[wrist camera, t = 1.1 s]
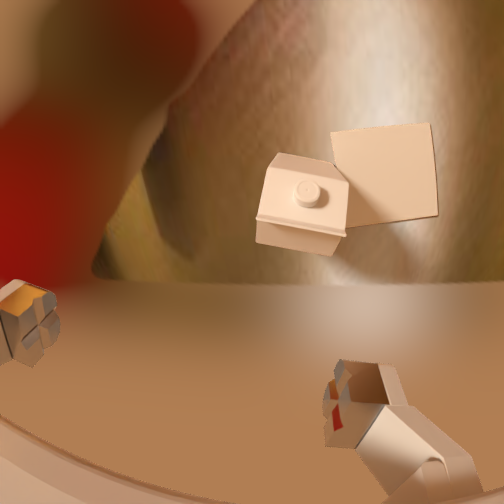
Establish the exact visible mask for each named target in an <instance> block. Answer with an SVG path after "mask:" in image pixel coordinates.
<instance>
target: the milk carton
mask: <svg viewBox="0 0 504 504" xmlns="http://www.w3.org/2000/svg"><path fill="white" fill-rule="evenodd" d="M348 190H349V183H348V182H347V180H346V179H345V178H344V177H343V176H342V174H341V173H340V172H339V171H338V170H337V169H336V167H335V166H334V165H333V164H332V163H331V162H327V161H322V160H317V159H312V158H307V157H302V156H297V155H291V154H285V153H278V154H277V155H276V157H275V158H274V159H273V161H272V162H271V164H270V165H269V167H268V168H267V173H266V177H265V182H264V187H263V191H262V196H261V201H260V206H259V210H258V215H257V217H256V220H257V231H256V242H257V243H261V244H266V245H272V246H277V247H282V248H288V249H293V250H298V251H304V252H309V253H314V254H319V255H325V256H332V255H333V253H334V251H335V249H336V248H337V246H338V244H339V242H340V240H341V238H342V236H343V237H346V232H345V225H346V215H347V203H348Z"/></svg>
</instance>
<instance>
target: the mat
mask: <svg viewBox="0 0 504 504" xmlns="http://www.w3.org/2000/svg"><path fill="white" fill-rule="evenodd" d="M330 135H331V141H332V146H333V152H334V158H335V164H336V169H337V170H338V171H339V172H340V173H341V174H342V176H343V177H344V178H345V179H346V180H347V182H348V183H349V190H348V203H347V215H346V225H345V228H351V227H358V226H365V225H372V224H379V223H386V222H393V221H400V220H407V219H414V218H421V217H428V216H436V215H438V208H437V188H436V174H435V163H434V153H433V144H432V136H431V129H430V123H417V124H404V125H392V126H382V127H372V128H363V129H355V130H347V131H339V132H332V133H330Z"/></svg>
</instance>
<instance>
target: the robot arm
mask: <svg viewBox="0 0 504 504" xmlns="http://www.w3.org/2000/svg"><path fill="white" fill-rule="evenodd" d="M56 306H57V302H56V296H55V295H54V294H53V293H52V292H50V291H48V290H45V289H43V288H40V287H37V286H35V285H32V284H29V283H27V282H24V281H21V280H13V281H11V282H10V283H9V284H7V285H6V286H4V287H3V288H2V289H0V365H2V364H4V363H7V362H9V361H11V360H12V359H14V360H17V361H19V362H21V363H23V364H25V365H27V366H29V367H33V366H34V365H35V364H36V363H37V362H38V361H39V360H40V359H41V357H42V356H43V355H44V349H45V348H48V347H51V346H52V345H53V344H54V343H55V342H56V340H57V338H58V335H59V333H60V319H59V317H58V315H57V313H56V312H55V308H56ZM334 375H335V379H333V380H332V381H330V382H329V383H328V385H327V388H326V390H325V394H324V398H323V407H322V408H323V415H324V416H325V417H326V418H327V422H326V424H325V426H324V435H325V446H327V447H338V448H352V449H355V451H356V452H357V454H358V455H359V456H360V458H361V459H362V461H363V462H364V463H365V465H366V466H367V467H368V469H369V470H370V471H371V473H372V474H373V475H374V477H375V478H376V480H377V481H378V482H379V484H380V485H381V486H382V488H383V489H384V490H385V491H386V493H387V494H388V495H389V497H388V498H387V499H386V500H385V501H383V502H382V503H381V504H504V486H503V487H500V488H496V489H493V490H489V491H486V492H483V489H482V486H481V483H480V480H479V477H478V474H477V471H476V469H475V466H474V463H473V460H472V458H471V455H470V454H468V453H467V452H466V451H465V450H463V448H461V447H460V446H459V445H458V444H457V443H456V442H454V441H453V440H452V439H451V438H450V437H449V436H447V435H446V434H445V433H444V432H443V431H442V430H440V429H439V428H438V427H437V426H436V425H434V423H432V422H431V421H430V420H429V419H428V418H427V417H425V416H424V415H423V414H422V413H421V412H420V411H419V410H417V409H416V408H415V407H414V406H408V403H407V400H406V397H405V394H404V391H403V388H402V386H401V383H400V380H399V377H398V375H397V372H396V369H395V367H394V366H393V365H392V364H384V363H366V362H359V361H349V360H342V359H340V360H339V361H338V363H337V364H336V367H335V369H334ZM0 504H236V503H230V502H225V501H219V500H214V499H209V498H204V497H200V496H195V495H191V494H187V493H183V492H179V491H175V490H171V489H168V488H164V487H161V486H157V485H154V484H151V483H147V482H144V481H141V480H138V479H135V478H132V477H129V476H126V475H124V474H121V473H118V472H115V471H113V470H110V469H107V468H104V467H102V466H100V465H97V464H95V463H93V462H90V461H88V460H86V459H83V458H81V457H79V456H77V455H74V454H72V453H70V452H68V451H66V450H64V449H62V448H60V447H57V446H55V445H53V444H52V443H50V442H48V441H46V440H44V439H42V438H40V437H38V436H36V435H34V434H33V433H31V432H29V431H27V430H26V429H24V428H22V427H20V426H19V425H17V424H15V423H14V422H12V421H10V420H9V419H7V418H6V417H4V416H2V415H1V414H0Z"/></svg>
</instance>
